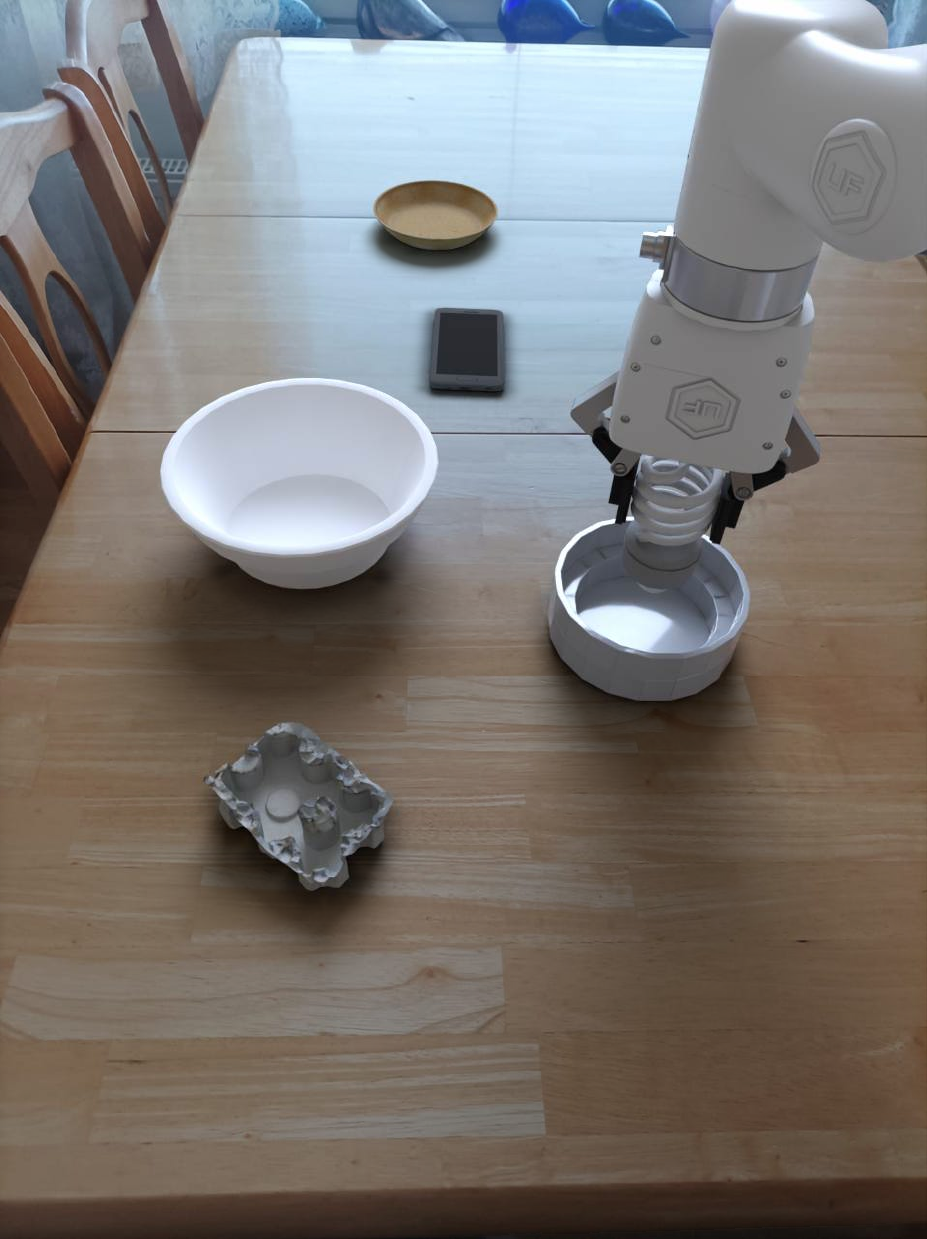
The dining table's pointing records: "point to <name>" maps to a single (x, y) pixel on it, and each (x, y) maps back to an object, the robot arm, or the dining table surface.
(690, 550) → the light bulb
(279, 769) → the egg carton
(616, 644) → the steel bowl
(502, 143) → the dining table surface
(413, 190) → the plant saucer
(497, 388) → the cell phone
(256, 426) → the bowl
